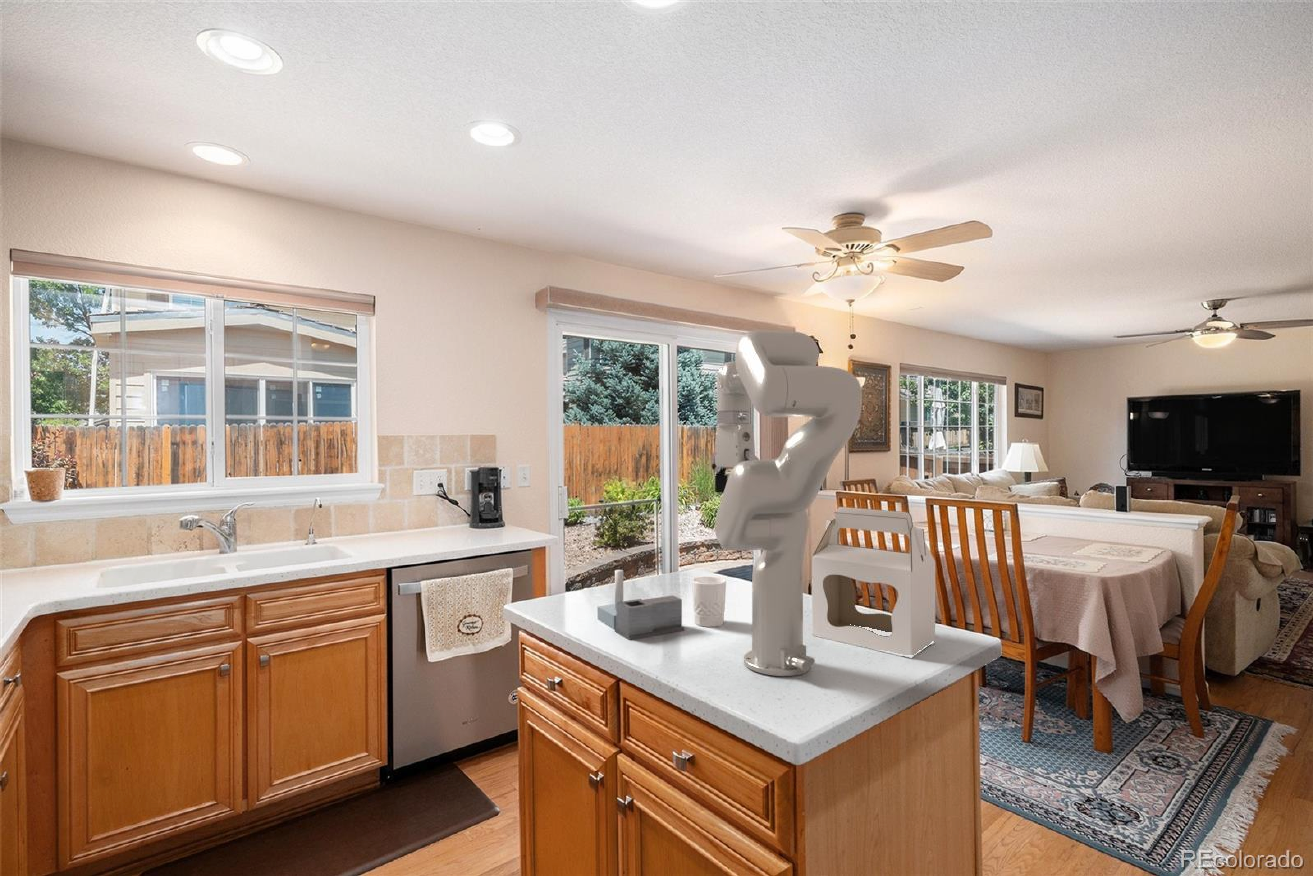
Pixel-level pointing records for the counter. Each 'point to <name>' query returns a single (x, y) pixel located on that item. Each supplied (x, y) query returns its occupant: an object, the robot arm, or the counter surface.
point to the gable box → (874, 566)
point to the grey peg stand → (609, 611)
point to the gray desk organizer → (648, 615)
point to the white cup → (709, 601)
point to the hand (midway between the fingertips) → (733, 493)
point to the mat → (656, 632)
